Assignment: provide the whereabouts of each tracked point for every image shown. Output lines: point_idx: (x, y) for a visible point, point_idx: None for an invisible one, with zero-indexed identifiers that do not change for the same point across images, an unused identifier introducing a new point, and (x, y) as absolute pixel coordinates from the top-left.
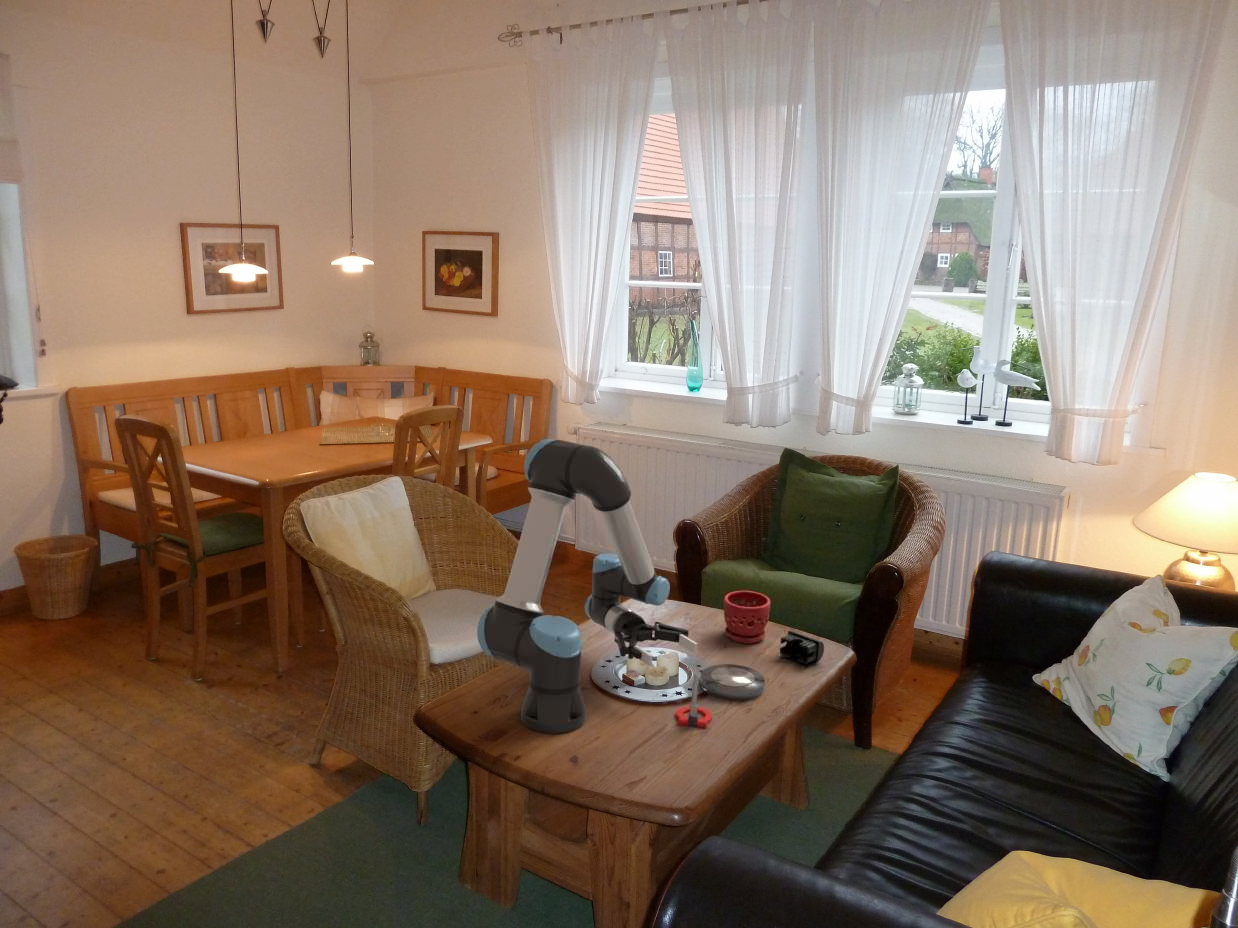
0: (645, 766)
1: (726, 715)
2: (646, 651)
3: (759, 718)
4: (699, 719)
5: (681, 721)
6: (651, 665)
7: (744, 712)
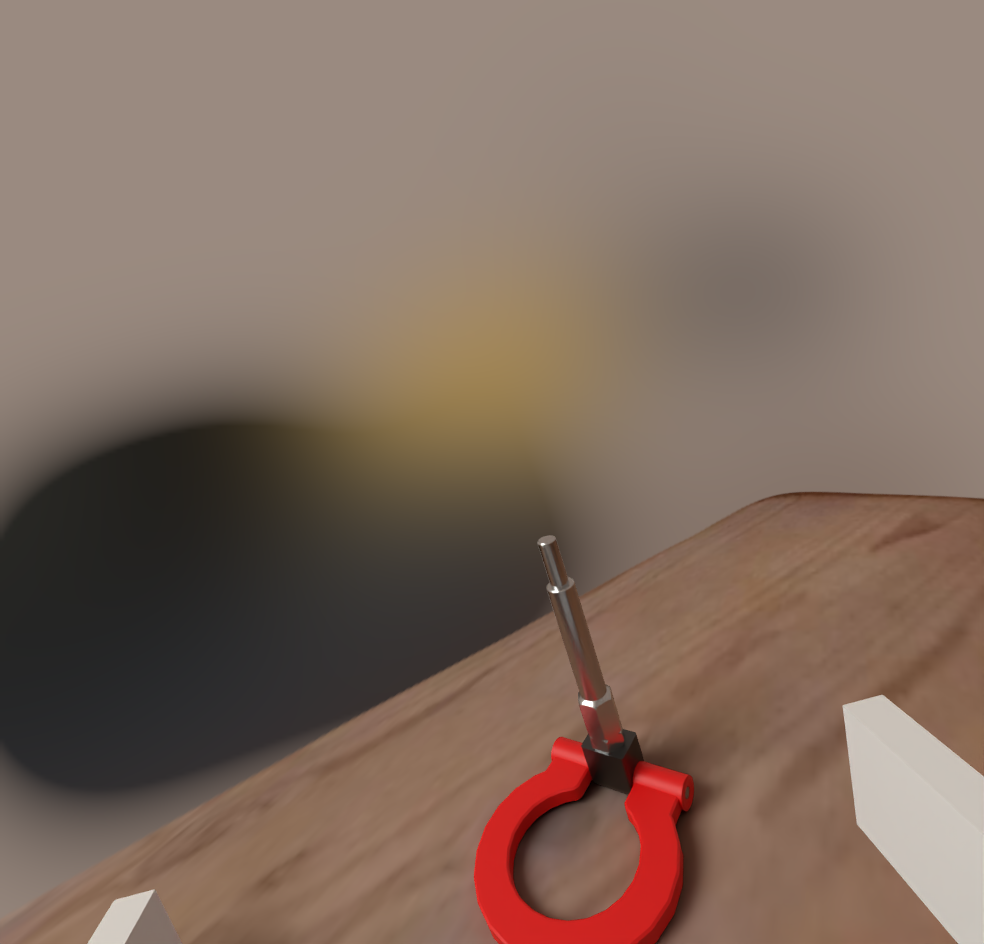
0: (878, 578)
1: (411, 844)
2: (964, 818)
3: (313, 794)
4: (574, 781)
5: (676, 771)
6: (863, 821)
7: (315, 855)
